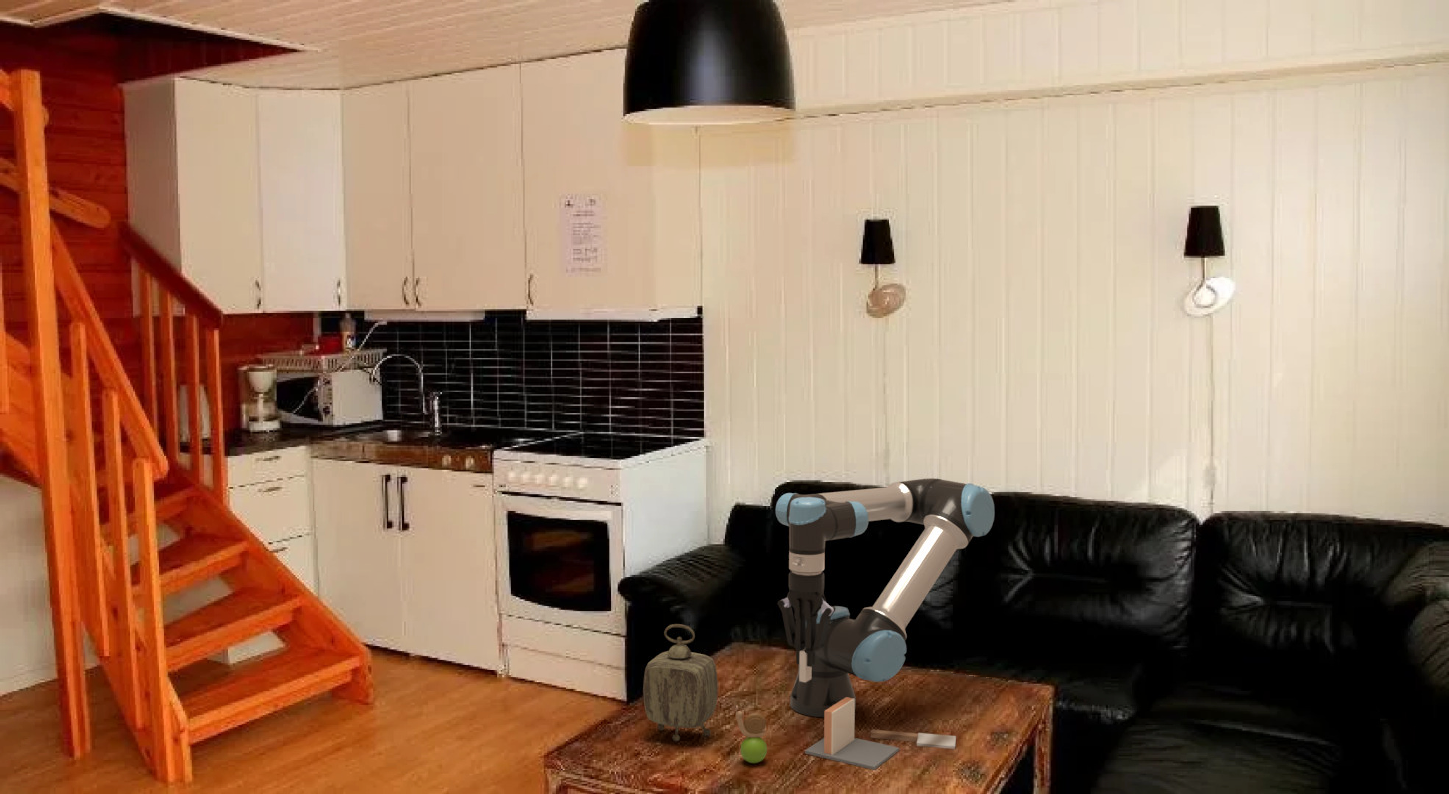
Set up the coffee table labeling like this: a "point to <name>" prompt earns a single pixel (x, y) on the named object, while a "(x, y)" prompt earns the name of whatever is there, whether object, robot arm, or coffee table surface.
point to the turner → (917, 738)
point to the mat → (857, 753)
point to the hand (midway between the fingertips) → (805, 680)
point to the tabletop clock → (680, 687)
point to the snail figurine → (752, 736)
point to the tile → (839, 725)
